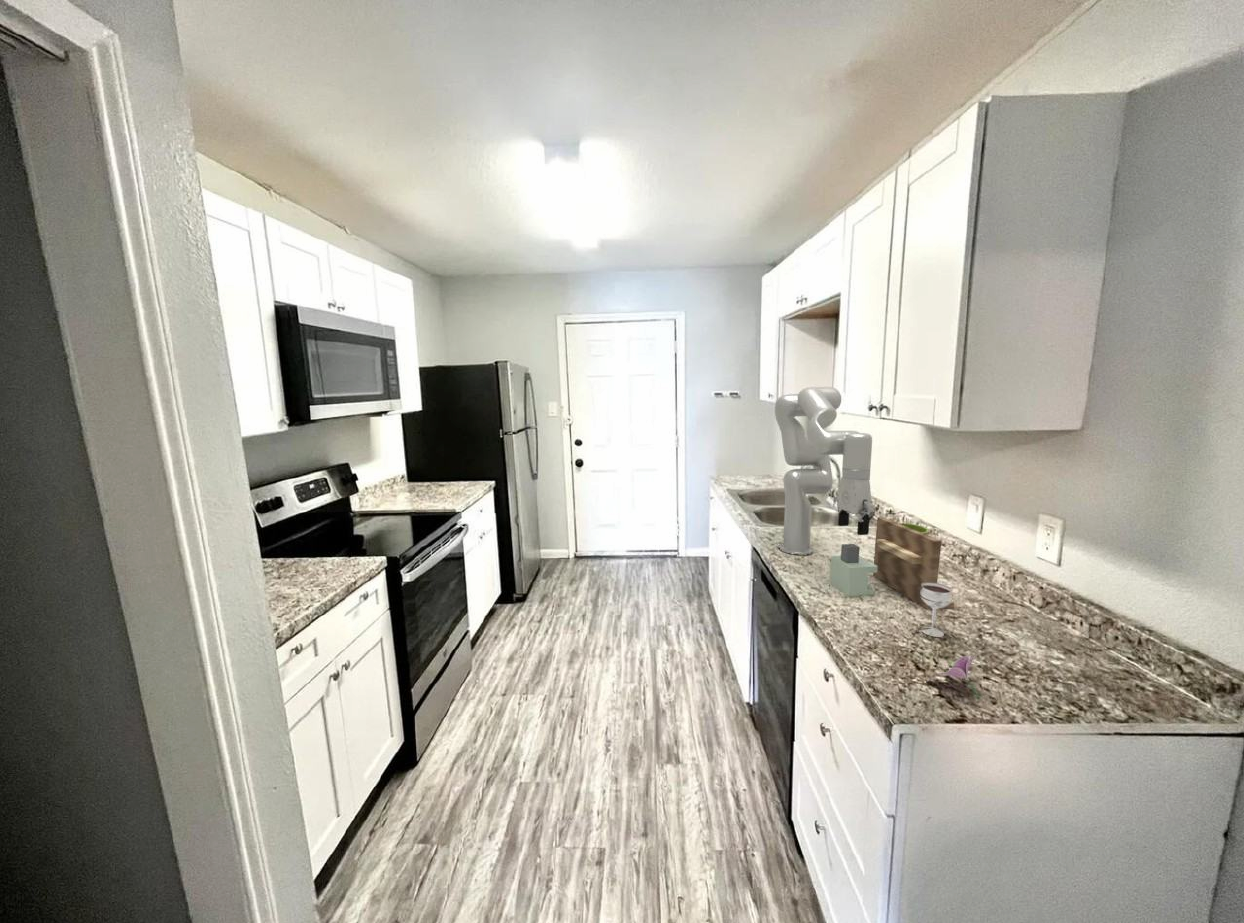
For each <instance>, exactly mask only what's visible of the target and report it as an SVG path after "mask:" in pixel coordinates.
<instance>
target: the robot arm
mask: <svg viewBox="0 0 1244 923" xmlns="http://www.w3.org/2000/svg"><path fill="white" fill-rule="evenodd" d="M841 404H842V394H841V393H840V391H839V390H838V389H837V388H835V387H833V386H811V387H810V386H809V387H805V388H803V389H801V390H800V391H799V392H798V393H789V394H783V395H781V396H779V397H778V398H777V399H776V401H775V404H774V416H775V420H776V422H777V425H778V428H779V429H780V430H779V431H780V433H781V440H782V449H783V457H784V460H785V463H786V464H787V465H788V466H792V467H805V466H807V467H812V468H793V469H790V470H788V471H786V472H785V474H784V476H783V488H784V518H783V519H784V520H783V535H782V536H781V537H782V538H783V542H781V543H780V544H779V545H778V549H779V548H780V549H779V550H780V551H781V550H782V551H781V552H782V553H785V552H786V553H785V554H788V553H793V554H799V555H798V556H808V555H807V554H809V555H812V554H813V553H814V551H815V549H814V547H813V546H811V527H812V510H813V509H812V503H811V501H810V500H809V499H808V497H807V495H819V494H827V493H830V492H831V490H832V488H833V483H834V482H833V481H834V480H833V473H832V466H831V460H830V456H833V455H834V456H838V455H842V468H841V477H840V480H839V485H838V490H837V496H836V498H835V500H836V507H837V513H838V519H837V520H838V521H837V522H838V523H837V526H839V527H846V526H849V524H850V514H852V515H857V517H858V520H859V521H857V529H856V530H857V532H856V533H857V535H858V536H867V535H869V533H870V532H869V531H870V530H869V529H870V522H871V520H872V519H873V516H874V513H875V511H876V510H875V509H874V507H873V506H872V504H871V503H872V502H871V501H872V499H871V498H872V496H871V494H872V492H871V484H870V483H871V482H870V481H871V467H872V466H871V465H872V464H871V463H872V449H873V448H872V446H873V436H872V435H871V434H870V433H866V432H859V431H857V430H824V429H826V428H828V427H829V426H831V425H832V424H833V423H834V422H835V420H836V419H837V410H838V409H839V408H840V406H841ZM796 417H807V419H808V420H809V421H808V423H807V428H806V429H807V430H806V432H805V429H804V426H803V425H802V424H801V422H800V421H799V420H798V419H796ZM806 434H807V437H806ZM807 439H808V440H807ZM811 553H812V554H811ZM793 554H792V555H793Z"/></svg>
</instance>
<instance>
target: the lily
mask: <svg viewBox="0 0 1244 923" xmlns="http://www.w3.org/2000/svg"><path fill="white" fill-rule="evenodd" d="M984 652H985V650H983V651H980V652H979V653H977V654H971V655H970V654H966V655H964V656H962V657H960V658H958V659H957V660H954V661H955V662H954V661H953V659H949V660H947V662H948V663H951V664H952V667H951V668H949V670H946V671H945V672H941V673H937V674H935V675H934V676H932V677H931V678H929V679H928V680H927V682H929V681H931V680H932V679H934V678H936V677H938V676H939V677H941V676H943V675H945V676H951V677H956V678H961V679H965V680H966V681H967V682H968V683H969V685H970V686H971V688H972V690H973V692H974V694H975V695H976V698H977V699H978V698H979V699H980V696H979V694H978V692H977V690H976V689H975V687H974V685H973V684H972V682H971V680H970V679H969V677H968V676H969V675H968V674H969V673H968V672H969V667H970V664H971V662H972V661H973V660H974V659H975V658H976V657H978V656H979V655H981V654H982V653H984Z"/></svg>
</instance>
